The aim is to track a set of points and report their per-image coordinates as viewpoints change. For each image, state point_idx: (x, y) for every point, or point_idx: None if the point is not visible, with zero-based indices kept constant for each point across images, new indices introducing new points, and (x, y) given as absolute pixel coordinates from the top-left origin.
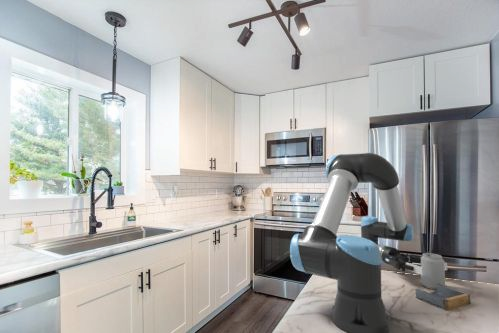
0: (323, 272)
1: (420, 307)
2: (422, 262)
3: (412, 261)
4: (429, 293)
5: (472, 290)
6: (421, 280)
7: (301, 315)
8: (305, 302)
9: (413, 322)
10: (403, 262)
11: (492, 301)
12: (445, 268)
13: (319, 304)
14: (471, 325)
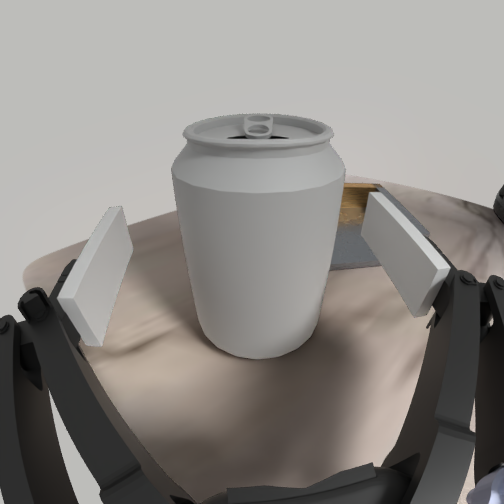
0: None
1: (430, 228)
2: (341, 194)
3: (165, 477)
4: (400, 207)
5: (133, 256)
6: (304, 335)
7: None
8: None
9: (459, 206)
10: (467, 274)
11: None
12: (129, 241)
13: None
14: (364, 180)
